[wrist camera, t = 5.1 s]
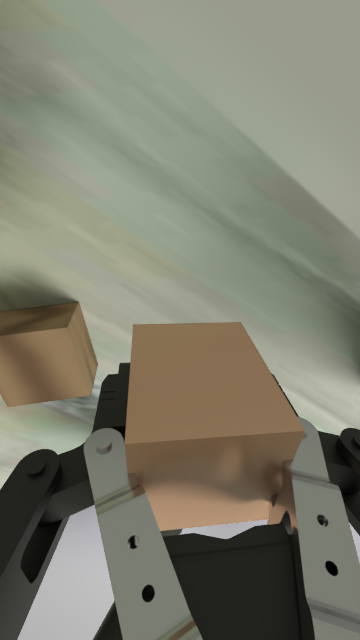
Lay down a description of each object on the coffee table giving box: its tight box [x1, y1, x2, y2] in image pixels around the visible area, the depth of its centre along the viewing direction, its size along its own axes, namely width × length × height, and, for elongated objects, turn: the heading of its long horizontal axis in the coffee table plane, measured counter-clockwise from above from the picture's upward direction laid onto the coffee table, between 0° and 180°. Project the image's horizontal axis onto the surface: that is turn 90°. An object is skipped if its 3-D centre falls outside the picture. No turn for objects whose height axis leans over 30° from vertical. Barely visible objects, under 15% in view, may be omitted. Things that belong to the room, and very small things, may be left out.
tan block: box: [125, 322, 305, 531], centre depth 11 cm, size 5×5×6 cm
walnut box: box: [0, 302, 98, 407], centre depth 27 cm, size 8×8×5 cm
